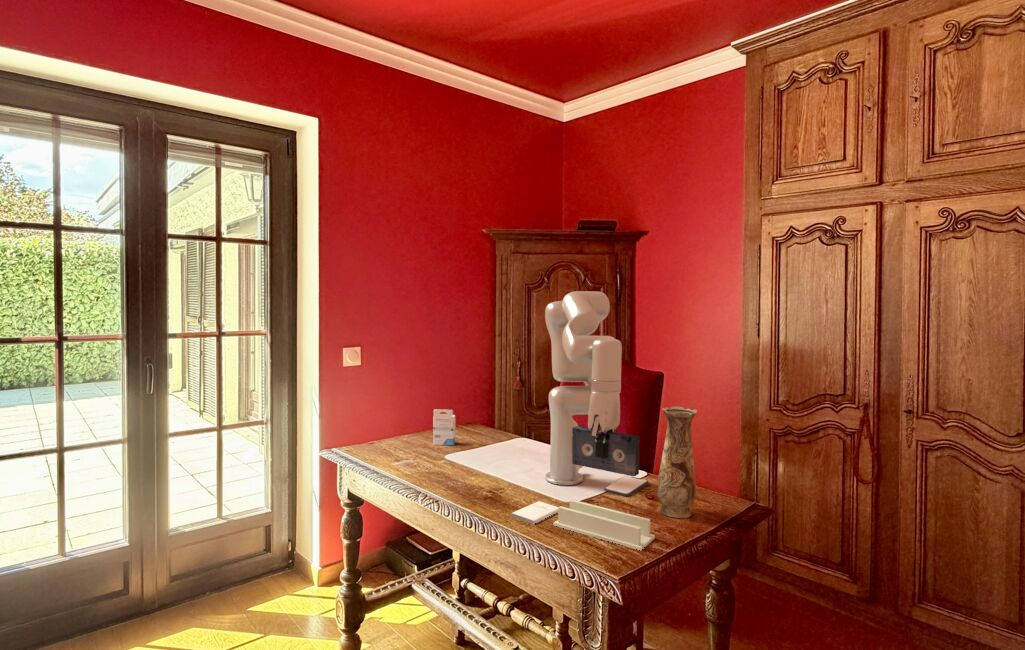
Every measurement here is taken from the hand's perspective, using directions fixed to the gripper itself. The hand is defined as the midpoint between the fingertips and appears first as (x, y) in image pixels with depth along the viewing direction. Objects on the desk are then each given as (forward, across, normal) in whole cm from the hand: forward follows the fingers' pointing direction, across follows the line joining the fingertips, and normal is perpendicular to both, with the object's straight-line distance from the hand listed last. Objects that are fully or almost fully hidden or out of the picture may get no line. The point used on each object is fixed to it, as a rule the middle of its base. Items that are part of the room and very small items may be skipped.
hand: (604, 455), depth 148 cm
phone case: (+21, -36, -9) cm, 42 cm away
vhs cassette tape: (+4, 0, 0) cm, 4 cm away
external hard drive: (+21, 0, -20) cm, 29 cm away
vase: (+21, -25, +11) cm, 34 cm away
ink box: (+21, -39, -91) cm, 101 cm away
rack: (+20, 0, 0) cm, 20 cm away
